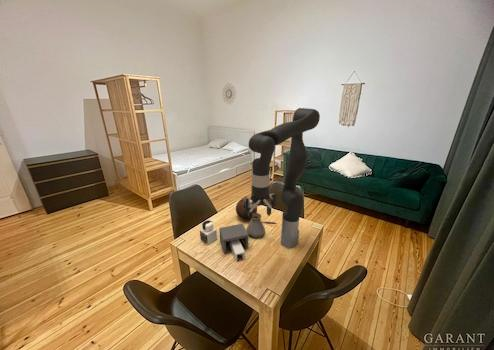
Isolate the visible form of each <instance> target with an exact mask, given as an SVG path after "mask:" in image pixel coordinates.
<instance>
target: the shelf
mask: <svg viewBox="0 0 494 350" xmlns="http://www.w3.org/2000/svg"><path fill="white" fill-rule="evenodd" d="M218 230H219V231H218V232H219V242H220V246H221V248H222V252H223V254H224V255H227V246H226V245H227V243H226V242H228V241H231V240H236V239H239V240H240V239H241V241H242V243H243V245H244V247H245V249H246V250H247V249H249V234H248V232H247V228H246V227H245V226H244V224H243V223H238V224H234V225H228V226H222V227H219V228H218Z"/></svg>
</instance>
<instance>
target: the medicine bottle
mask: <svg viewBox="0 0 494 350" xmlns="http://www.w3.org/2000/svg"><path fill="white" fill-rule="evenodd" d="M201 225H202V228H201V229H199V236H200V237H199V239H200V241H202V242H203V243H205V245H210V244H211V243H213V242H214V241H216V240H218V235H217V233H218V232H217V229H216V228H215V227H214V223H213V220H209V219H208V220H205V221H203V222H202V224H201Z"/></svg>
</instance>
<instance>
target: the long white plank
mask: <svg viewBox="0 0 494 350" xmlns="http://www.w3.org/2000/svg"><path fill="white" fill-rule="evenodd" d="M227 242H228V245H229V248H230V251H231V253H232V256H233V258H234V261H235V262H238V255H239V256H241V257H242V260H245V259H246V253H245V252H246V251H245V249H244V247H243V245H242V243H241V241H240V239H236V240H231V241H227Z"/></svg>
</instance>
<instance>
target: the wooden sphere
mask: <svg viewBox="0 0 494 350" xmlns="http://www.w3.org/2000/svg"><path fill="white" fill-rule="evenodd" d="M251 201H252V200H250V202H249V203H248V207H249V205H250V203H251ZM253 205H254V204H253ZM235 212H236V215H237V216H238V217H239V218H240V219H242V220H244V221H245V220H246V221H248V220H251V219H250V218H249V217H248V211H247V212H246V211H245V209H244V197H243V198H241V199H239V200H238V202H237V203H236V206H235ZM253 213H258V206H256V207H255V208H254V209H253V210H252V214H253Z"/></svg>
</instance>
